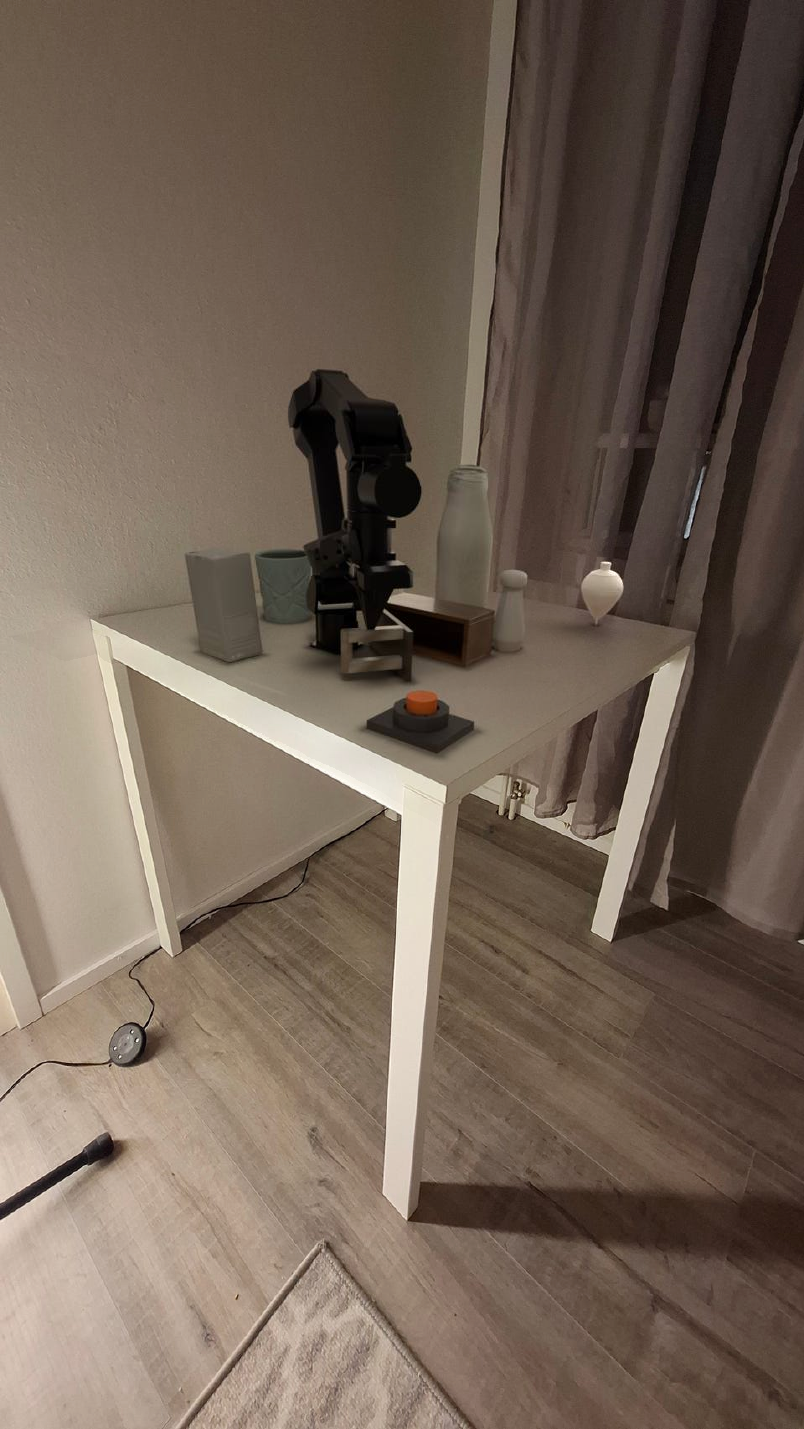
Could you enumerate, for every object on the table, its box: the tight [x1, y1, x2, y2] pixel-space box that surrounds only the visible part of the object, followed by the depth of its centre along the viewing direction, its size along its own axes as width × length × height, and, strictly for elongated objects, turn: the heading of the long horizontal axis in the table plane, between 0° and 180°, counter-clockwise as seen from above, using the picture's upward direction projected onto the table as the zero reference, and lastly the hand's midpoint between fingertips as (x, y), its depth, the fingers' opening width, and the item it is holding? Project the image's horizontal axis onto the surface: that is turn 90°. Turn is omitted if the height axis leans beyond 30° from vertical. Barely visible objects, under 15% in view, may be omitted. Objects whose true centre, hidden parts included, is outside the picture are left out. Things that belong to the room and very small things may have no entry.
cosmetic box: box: [184, 547, 263, 663], centre depth 93 cm, size 8×7×16 cm
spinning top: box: [580, 561, 624, 626], centre depth 117 cm, size 8×8×12 cm
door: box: [340, 609, 413, 682], centre depth 92 cm, size 10×18×7 cm, turn 19°
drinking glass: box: [254, 548, 312, 624], centre depth 114 cm, size 10×10×12 cm
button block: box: [366, 697, 475, 755], centre depth 72 cm, size 10×8×3 cm
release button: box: [405, 690, 438, 714], centre depth 72 cm, size 4×4×2 cm
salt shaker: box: [492, 569, 528, 653], centre depth 101 cm, size 6×6×13 cm
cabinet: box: [384, 592, 496, 669], centre depth 100 cm, size 8×18×8 cm, turn 54°
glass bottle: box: [434, 464, 494, 608], centre depth 114 cm, size 10×10×28 cm
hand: (370, 628), depth 85 cm, fingers closed, pressing on door
